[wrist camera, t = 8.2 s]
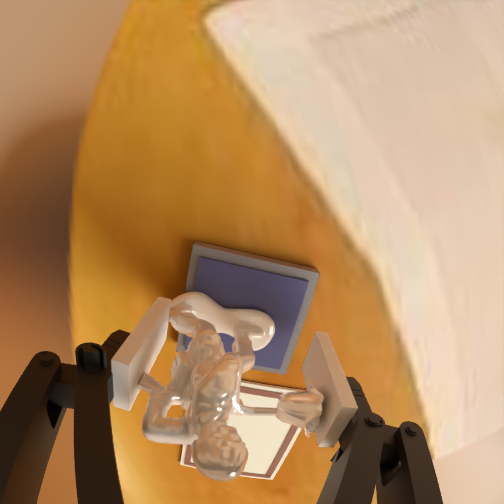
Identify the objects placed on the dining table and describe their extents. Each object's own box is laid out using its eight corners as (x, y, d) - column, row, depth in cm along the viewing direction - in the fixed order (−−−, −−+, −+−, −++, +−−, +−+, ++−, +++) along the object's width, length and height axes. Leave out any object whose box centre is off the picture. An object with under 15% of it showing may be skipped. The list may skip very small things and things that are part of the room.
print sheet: (195, 369, 22) (194, 372, 21) (318, 391, 22) (319, 394, 22) (180, 462, 25) (180, 465, 25) (272, 477, 25) (272, 480, 25)
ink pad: (196, 240, 19) (192, 245, 18) (316, 268, 19) (320, 274, 18) (179, 344, 21) (175, 353, 20) (284, 366, 21) (285, 377, 20)
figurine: (166, 278, 18) (56, 401, 7) (314, 290, 18) (369, 443, 6) (169, 343, 20) (96, 480, 8) (303, 355, 19) (328, 512, 8)
